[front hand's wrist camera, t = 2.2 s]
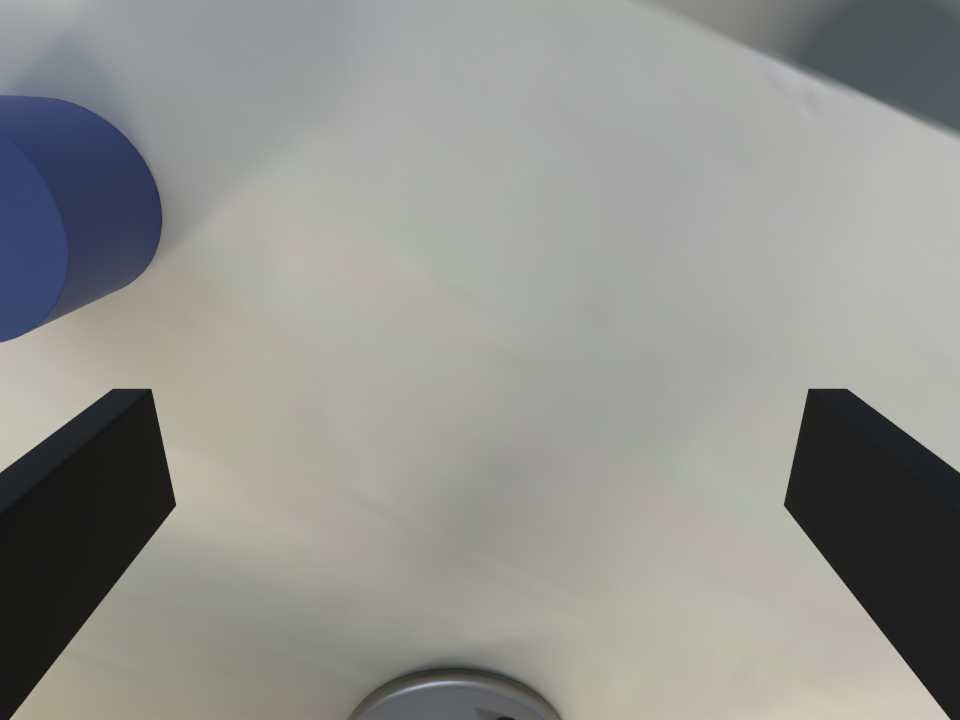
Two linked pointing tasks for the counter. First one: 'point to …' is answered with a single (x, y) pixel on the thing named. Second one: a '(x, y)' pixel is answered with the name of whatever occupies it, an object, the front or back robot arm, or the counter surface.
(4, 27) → the counter surface
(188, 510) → the counter surface
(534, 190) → the counter surface
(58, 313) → the canister
